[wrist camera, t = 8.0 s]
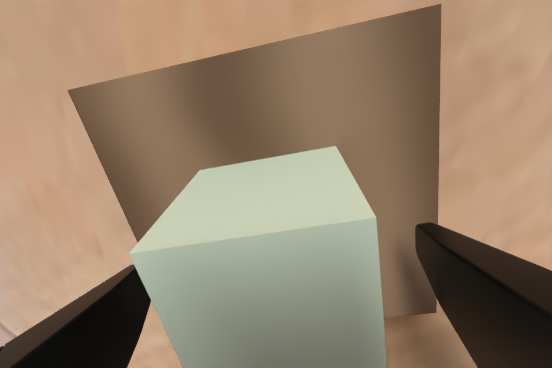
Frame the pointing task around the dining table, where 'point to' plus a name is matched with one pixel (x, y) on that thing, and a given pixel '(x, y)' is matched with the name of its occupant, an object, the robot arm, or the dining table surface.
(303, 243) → the sage cube
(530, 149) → the dining table surface
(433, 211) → the walnut base
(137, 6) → the dining table surface
